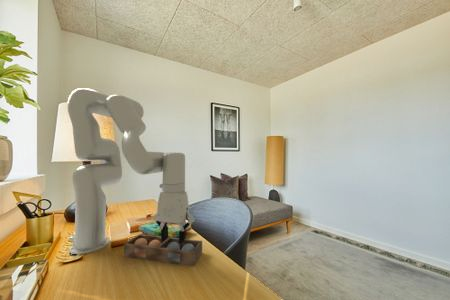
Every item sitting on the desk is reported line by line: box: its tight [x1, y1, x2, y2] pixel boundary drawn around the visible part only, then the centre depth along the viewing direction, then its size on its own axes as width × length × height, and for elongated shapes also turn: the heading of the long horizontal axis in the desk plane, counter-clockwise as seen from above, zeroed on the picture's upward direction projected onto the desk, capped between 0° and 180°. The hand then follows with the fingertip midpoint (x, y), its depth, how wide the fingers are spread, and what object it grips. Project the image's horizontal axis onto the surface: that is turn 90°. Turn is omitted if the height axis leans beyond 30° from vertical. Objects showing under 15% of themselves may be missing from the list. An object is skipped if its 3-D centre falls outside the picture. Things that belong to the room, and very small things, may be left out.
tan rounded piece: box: [134, 238, 148, 246], centre depth 65 cm, size 5×5×5 cm
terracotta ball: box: [148, 240, 161, 247], centre depth 64 cm, size 5×5×5 cm
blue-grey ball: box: [182, 243, 195, 251], centre depth 61 cm, size 5×5×5 cm
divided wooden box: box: [123, 233, 203, 268], centre depth 63 cm, size 25×8×5 cm, turn 78°
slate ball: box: [167, 242, 180, 250], centre depth 62 cm, size 5×5×5 cm
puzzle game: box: [139, 220, 192, 238], centre depth 80 cm, size 12×5×20 cm
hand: (173, 240), depth 62 cm, fingers open, 5 cm apart
